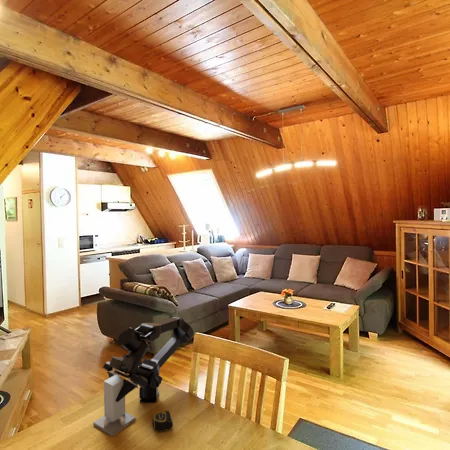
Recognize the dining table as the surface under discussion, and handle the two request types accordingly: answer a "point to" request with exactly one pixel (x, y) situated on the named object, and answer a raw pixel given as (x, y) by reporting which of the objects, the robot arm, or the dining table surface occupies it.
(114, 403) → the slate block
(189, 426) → the dining table surface
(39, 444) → the dining table surface
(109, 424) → the plate
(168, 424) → the tape measure
